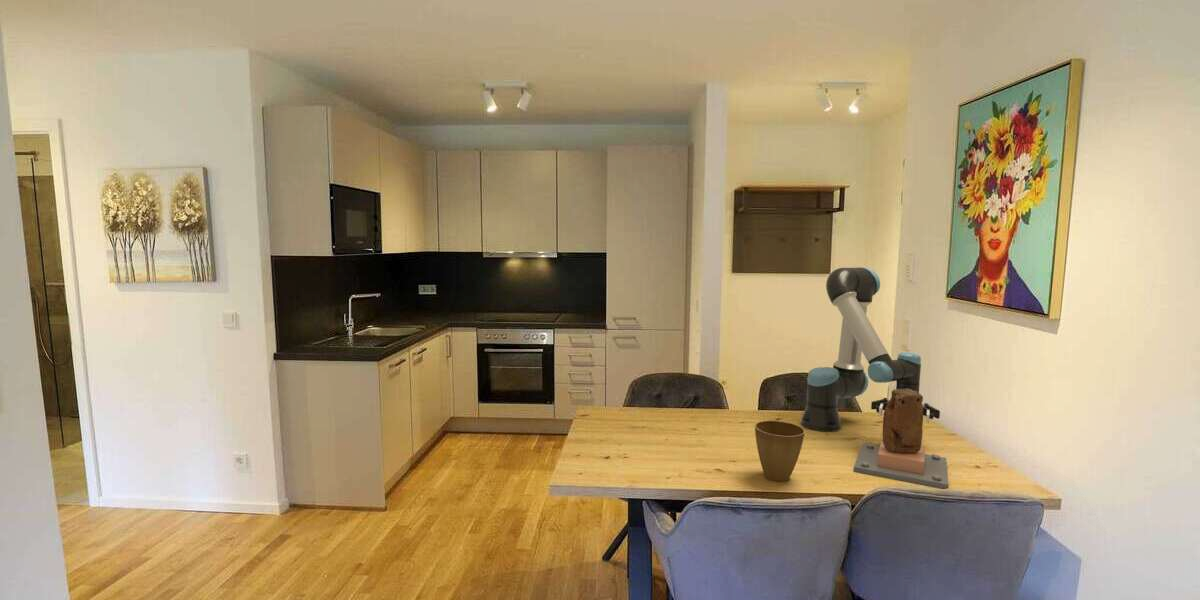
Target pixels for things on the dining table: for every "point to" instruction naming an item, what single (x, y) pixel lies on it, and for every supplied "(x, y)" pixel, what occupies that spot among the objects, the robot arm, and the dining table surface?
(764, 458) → the plant pot
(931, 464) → the tower base
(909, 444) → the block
